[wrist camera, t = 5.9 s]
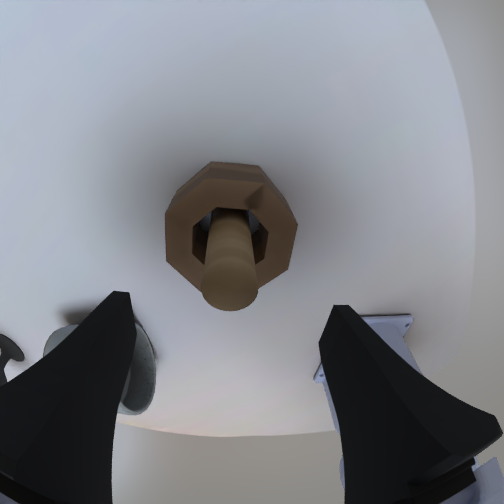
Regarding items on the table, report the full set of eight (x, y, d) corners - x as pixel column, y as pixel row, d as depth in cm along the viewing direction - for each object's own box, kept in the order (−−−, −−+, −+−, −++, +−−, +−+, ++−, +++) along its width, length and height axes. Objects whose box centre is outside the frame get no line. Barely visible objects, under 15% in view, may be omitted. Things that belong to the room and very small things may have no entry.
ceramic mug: (56, 309, 21) (23, 375, 14) (127, 299, 20) (99, 381, 14) (110, 377, 26) (95, 437, 20) (175, 375, 26) (168, 443, 20)
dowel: (244, 231, 18) (252, 313, 12) (209, 226, 18) (199, 307, 11) (250, 199, 17) (263, 270, 11) (214, 194, 17) (204, 263, 10)
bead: (273, 263, 20) (281, 296, 17) (176, 257, 19) (167, 289, 16) (291, 169, 16) (305, 188, 13) (178, 159, 15) (165, 175, 12)
